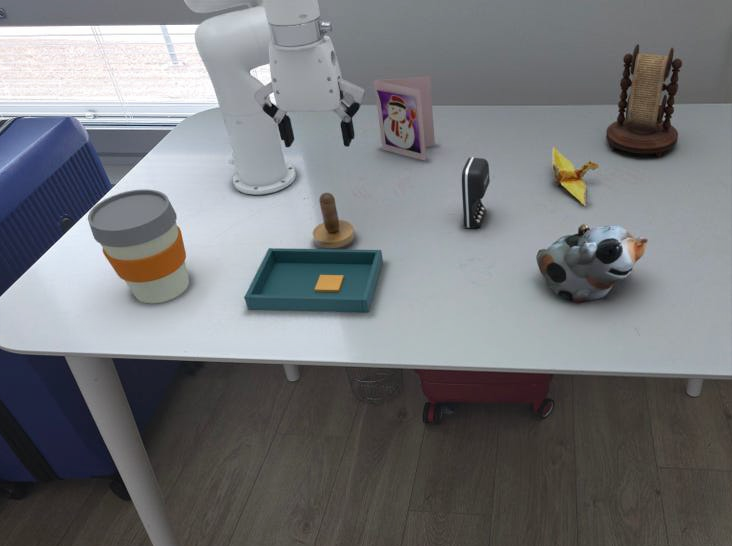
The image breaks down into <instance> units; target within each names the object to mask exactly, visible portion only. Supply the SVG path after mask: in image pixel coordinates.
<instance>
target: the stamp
mask: <svg viewBox="0 0 732 546" xmlns="http://www.w3.org/2000/svg"><path fill="white" fill-rule="evenodd" d="M318 201H319V207H320V210H321V215H322V221H323V222H322V223H320V224H318V225H317V226H316V227H315V228H314V229H313V230H312V237H313V242H314V243H315V244H316V247H317V249H348V248H349V247H351V246H352V245H353V244H354V242H355V229H354V226H353V224H352V223H350V222H349V221H346V220H343V219H339V215H338V210H337V204H336V199H335V197H334V195H333V194H332V193H330V192H323V193H321V195H319V200H318Z"/></svg>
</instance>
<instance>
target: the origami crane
mask: <svg viewBox="0 0 732 546" xmlns="http://www.w3.org/2000/svg"><path fill="white" fill-rule="evenodd" d="M551 153H552V155H551V157H552V158H551V159H552V160H551V161H552V162H551V163H552V164H551V167H552V170H551V171H553V173H554V177H555V178H556V179H557V180H556V184H557V186H558V187H559V186H560V185H561V186H563V188H565V189H566V191H568V192H569V193H570V194H571V195H572V196H573V197H574V198H575V199H577V200H578V201H579V202H580V204H582V205H583V206H584V207H586V204H587V203H586V202H587V183H586V182H585V181H584V180H583V177H585V175H586V174H587V173H588V171H590V170H591V171H594V170H596V169H598V168H599V164H598V163H596V162H592V161H591V160H589V161H588V162H585V163H584V164H583V165H582V167H581V168H580V169H576V168H575V165H574V164H573V163H572V162H571V161H570V160H569V159H568V158H567V157H565V156H564V155H563V154H562V153H560V151H559V150H557V148H556V147H555V146H553V147H552V152H551Z"/></svg>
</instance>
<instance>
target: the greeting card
mask: <svg viewBox="0 0 732 546" xmlns="http://www.w3.org/2000/svg"><path fill="white" fill-rule="evenodd" d="M373 87H374V93H375V102H376V109H377V117H378V125H379V132H380V138H381V139H380V141H381V148H382V150H383V151H387V152H390V153H393V154H398V155H402V156H404V157H405V156H406V157H410V158H413V159H416V160H421V161H424V162H427V156H426V154H427V153H426V148H428V147H429V148H430V147H436V143H435V142H436V141H435V128H434V116H433V115H434V114H433V101H432V87H431V76H420V77H406V78H405V77H403V78H388V79H374V80H373Z"/></svg>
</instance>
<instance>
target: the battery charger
mask: <svg viewBox="0 0 732 546" xmlns="http://www.w3.org/2000/svg"><path fill="white" fill-rule="evenodd" d="M490 180H491V179H490V166H489V162H488V160H487V159H485V158H482V157H475V156H471V157H468V158H467V160H466V162H465V164H464V166H463V168H462V172H461V193H462V213H463V214H462V215H463V226H464V228H467V229H470V228H471V229H477V228H480V227H482V225H483V222H484V220H485V217H486V215H487V208H486V207H485V206H484V204H483V202H482V199H483V198H484V197H485V195H486V192H487V191H488V190H487V189H488V187H489V184H490V182H491V181H490Z"/></svg>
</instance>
